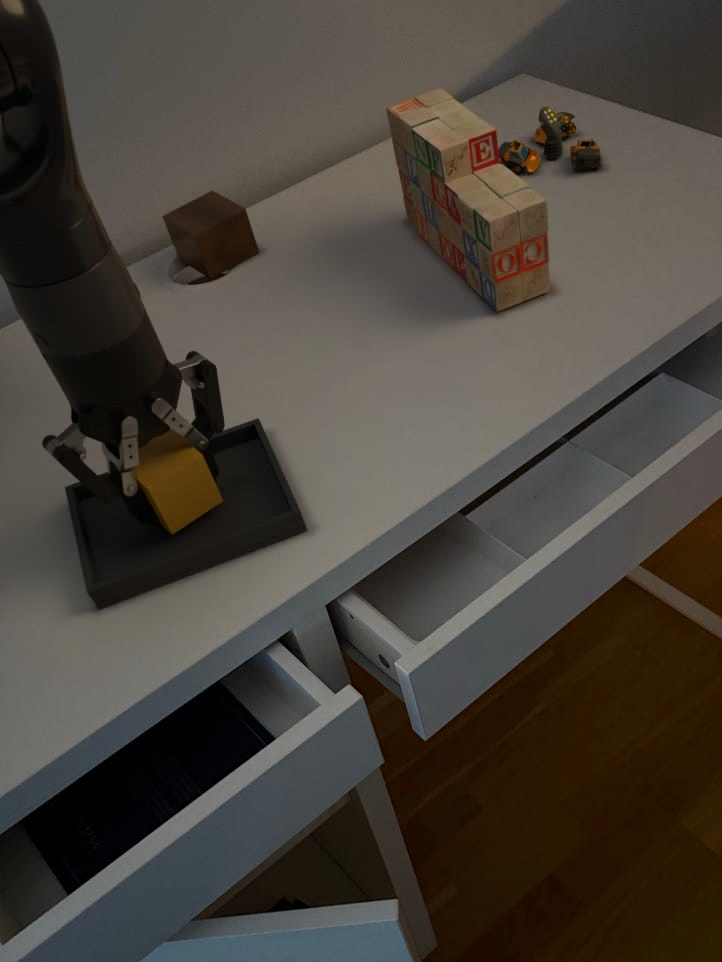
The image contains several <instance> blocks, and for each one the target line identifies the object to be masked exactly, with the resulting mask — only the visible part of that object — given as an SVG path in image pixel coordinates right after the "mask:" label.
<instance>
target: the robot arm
mask: <svg viewBox="0 0 722 962" xmlns="http://www.w3.org/2000/svg"><path fill="white" fill-rule="evenodd" d="M0 276H1V277H2V280H3V281H4V283H5V285H6V288H7V291H8V293H9V296H10V298H11V300H12V303H13V305H14V307H15V310H16V312H17V314H18V315H19V318H20V319H21V321H22V323H23V324H24V326H25V328H26V330H27V331H28V333H29V335H30V337H31V338H32V340H33V342H34V343H35V345H36V347H37V349H38V351H39V352H40V354H41V356H42V357H43V359H44V361H45V363H46V364H47V366H48V368H49V370H50V372H51V374H52V375H53V377H54V378H55V380H56V382H57V384H58V385H59V387H60V389H61V391H62V392H63V395H64V396H65V398H66V399H67V401H68V404H69V407H70V420H71V424H70V425H68V427H66V428H65V429H63V431H62V432H61V433H59V434H58V436H56V435H55V434H48V435H45V436H44V438H43V439H42V442H41V445H42V448H43V449H44V450H45V451H46V452H48V454H49V455H50V456H52V457H53V458H54V460H56V461H57V462H58V463H59V464H60V465H61V466H62V467H63V468H64V469H65V470H67V472H68V473H70V474H71V475H72V476H73V477H74V479H76V480H77V482H81V483H82V484H83V485H84V486H85V487H86V488H87V489H88V490H89V491H90V492H91V493H93V494H94V495H95V496H96V497H97V498H98V499H99V500H100V501H101V502H103V503H110V502H111V501H113V499H114V498H115V497H117V496H121V497H122V499H123V501H124V502H125V504H126V506H127V507H128V509H129V511H130V513H131V514H132V515H133V516H134V517H135V518H137V519H138V520H139V521H140V522H141V523H143V524H145V523H146V522H149V523H150V524H151V525H152V526H154V525H155V524H157V523H159V522H160V520H159V518H158V517H157V515H156V513H155V511H154V509H153V507H152V506H151V504H150V502H149V500H148V498H147V496H146V494H145V493H144V491H143V490H142V489H141V488H140V487H139V486H138V476H137V468H139V466H140V465H139V453H138V450H139V449H140V448H142V447H144V446H145V445H146V444H147V443H148V442H149V441H150V440H151V439H152V438H155V437H158V436H161V435H163V434H165V433H167V432H168V431H170V429H171V430H173V431H174V432H175V433H176V434H178V435H179V436H180V437H181V438H182V439H184V440H185V441H186V442H187V443H189V444H190V445H191V446H192V447H194V448H195V449H196V450H197V451H198V452H200V453H201V454H202V455H203V457H204V459H205V462H206V464H207V466H208V468H209V470H210V473H211V475H212V477H213V479H214V481H215V484H218V483H217V480H216V478H215V477H217V476H218V475H219V468H218V466H217V464H216V461H215V459H214V457H213V455H212V453H211V450H210V448H209V440H210V438H211V437H212V436H213V435H214V434H215V433H216V434H218V433H220V432H222V431H223V430H225V427H226V422H225V418H224V409H223V402H222V395H221V389H220V381H219V375H218V369H217V365H216V364H215V363H213V362H212V361H211V360H209V358H206V357H205V356H203V355H202V354H201V353H199V352H198V351H197V350H191V351H189V352H188V353H187V354H186V356H185V360H182V361H178V362H176V363H171V361H170V360H169V359H168V357H167V354H166V352H165V349H164V348H163V347H164V346H163V345H162V342H161V341H160V338H159V336H158V334H157V332H156V330H155V328H154V325H153V323H152V321H151V318H150V316H149V313H148V312H147V309H146V307H145V304H144V303H143V300H142V297H141V295H142V294H141V292H140V289H139V287H138V285H137V284H136V282H134V280H133V278H132V276H131V274H130V271H129V270H128V268H127V266H126V264H125V262H124V261H123V259H122V257H121V256H120V254H119V253H118V252H117V249H116V248H115V246H114V244H113V242H112V241H111V238H110V237H109V235H108V232H107V230H106V227H105V226H104V223H103V221H102V219H101V216H100V214H99V212H98V210H97V208H96V205H95V203H94V201H93V199H92V197H91V195H90V192H89V190H88V187H87V186H86V183H85V181H84V178H83V175H82V172H81V166H80V162H79V157H78V153H77V147H76V143H75V139H74V133H73V129H72V125H71V118H70V113H69V107H68V101H67V93H66V87H65V81H64V74H63V69H62V64H61V59H60V54H59V49H58V46H57V42H56V38H55V35H54V32H53V30H52V27H51V24H50V22H49V19H48V17H47V14H46V12H45V10H44V8H43V7H42V5H41V3H40V1H39V0H0ZM183 383H184V384H186V385H187V386H188V387H189V388H190V394H191V399H192V401H191V402H192V405H193V413H194V418H193V420H192V421H191V423H190V422H189V421H188V420H187V419H186V418H185V417H184V416H183V415H182V414H181V413H179V412H178V411H177V409H178V404H179V399H180V394H181V388H182V385H183ZM86 437H87V438H89V439H91V440H95V441H97V442H100V443H101V450H102V453H103V455H104V457H105V460H106V468H107V470H106V471H107V472H108V474H106V475H102V476H98V475H99V474H96V472H95V471H94V470H93V469H91V468H90V466H88V465H87V464H86V463H85V462H84V461H85V460H86V459H87V449H86V447H85V446H84V441H85V439H86Z"/></svg>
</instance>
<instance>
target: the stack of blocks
mask: <svg viewBox="0 0 722 962" xmlns="http://www.w3.org/2000/svg"><path fill="white" fill-rule="evenodd" d="M385 111H386V117H387V121H388V124H389V130H390V135H391V142H392V146H393V152H394V157H395V163H396V167H397V168H398V174H399V181H400V185H401V186H400V187H401V190H402V195H403V196H402V200H403V204H404V209H405V213H406V214H405V215H406V218H407V222H408V224H409V225H410V226H411V227H412V228H413V230H415V232H417V234H418V235H419V236H420V238H422V240H423V241H424V242H426V243H427V244H428V246H430V248H432V249H433V251H434V252H435V253H436V254H437V255H438V256H439V257H440V258H442V259H444V260H445V261H446V262H447V263H448V264H449V265H450V266H451V267H452V269H454V270H455V271H456V272H457V273H459V275H460V276H461V277H462V278H463V279H464V280H465V281H466V282H467V283H468V285H469V286H470V287H471V288H472V289H473V290H474V291H475V292H476V293H477V294H478V295H479V296H480V297H481V298H483V301H485V302H486V303H487V304H488V305H489V306H490V307H491V308H492V309H493V310H494V311H495V312H500V311H503V310H505V309H508V308H511V307H513V306H516V305H517V304H520V303H523V302H526V301H528V300H531V299H533V298H535V297H539V296H541V295H543V294H546V293H548V292H549V291H551V275H550V263H549V262H550V253H549V252H550V249H549V235H548V232H549V214H548V213H549V212H548V200H547V198H546V197H544V196H543V195H541V194H540V193H539V192H538V191H537V190H535V189H534V188H533V187H531V185H530V184H528V183H527V182H526V181H525V180H523V179H522V178H521V177H519V176H518V175H517V174H515V172H512V170H509V169H508V168H506V167H505V166H506V165H505V166H504V165H502V164H499V162H500V158H499V152H498V149H499V143H498V142H499V141H498V135H497V134H498V133H497V129H496V128H494V126H492V125H490V124H489V123H487V121H486V120H483V119H482V118H480V117H479V116H478V115H476V114H475V113H473V112H472V111H471V110H469V109H468V108H467V107H466V106H464V105H463V103H460V102H459V101H458V100H456V99H455V98H454V97H453V96H452V95H451V94H449V93H448V92H446V91H445V90H444V89H443V88H437V89H434V90H432V91H428V92H426V93H425V92H424V93H421V94H420V95H416V96H414V97H411V98H408V99H405V100H402V101H400V102H397V103H394V104H391V105H388V106H387V107H386V108H385Z"/></svg>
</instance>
